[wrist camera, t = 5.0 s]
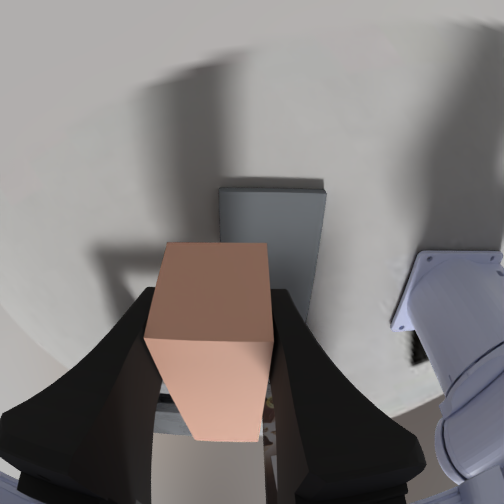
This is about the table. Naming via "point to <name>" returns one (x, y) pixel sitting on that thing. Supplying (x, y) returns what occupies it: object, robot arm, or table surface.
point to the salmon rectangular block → (214, 336)
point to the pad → (278, 232)
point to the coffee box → (270, 448)
